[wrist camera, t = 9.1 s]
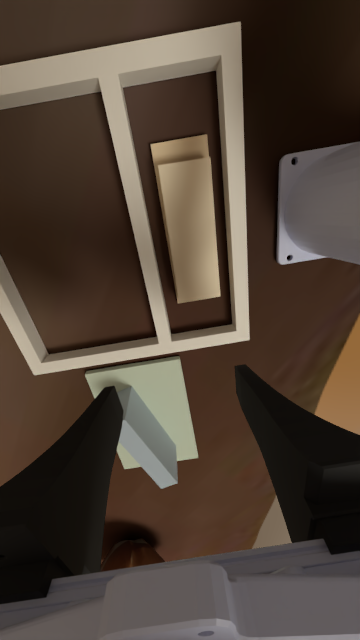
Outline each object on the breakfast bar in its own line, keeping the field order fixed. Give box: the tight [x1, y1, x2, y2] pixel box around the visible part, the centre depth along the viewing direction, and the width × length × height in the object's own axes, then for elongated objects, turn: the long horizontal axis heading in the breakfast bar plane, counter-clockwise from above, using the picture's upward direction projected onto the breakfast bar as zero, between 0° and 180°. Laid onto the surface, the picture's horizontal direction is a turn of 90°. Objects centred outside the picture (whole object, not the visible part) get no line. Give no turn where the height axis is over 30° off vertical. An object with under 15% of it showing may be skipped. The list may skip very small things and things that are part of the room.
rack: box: [0, 21, 249, 375], centre depth 18 cm, size 21×21×2 cm
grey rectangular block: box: [117, 386, 178, 489], centre depth 24 cm, size 2×11×4 cm, turn 25°
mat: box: [85, 356, 198, 469], centre depth 26 cm, size 10×16×1 cm, turn 9°
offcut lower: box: [150, 134, 220, 303], centre depth 18 cm, size 4×12×1 cm, turn 9°
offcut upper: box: [158, 157, 220, 303], centre depth 18 cm, size 4×10×1 cm, turn 8°
